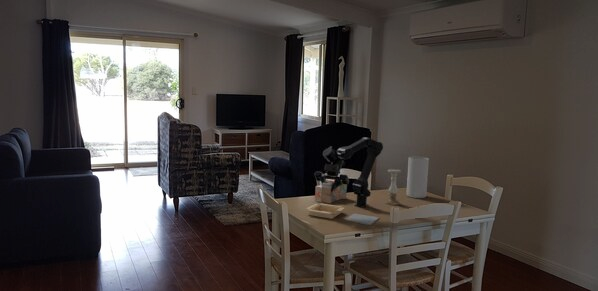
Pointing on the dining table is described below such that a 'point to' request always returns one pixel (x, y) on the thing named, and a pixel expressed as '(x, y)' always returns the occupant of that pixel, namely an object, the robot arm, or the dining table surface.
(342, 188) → the stack of blocks
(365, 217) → the rubber mat
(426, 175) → the cylinder vase
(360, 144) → the robot arm
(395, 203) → the candle holder
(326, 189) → the grey rectangular block
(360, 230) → the dining table surface
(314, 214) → the carton
